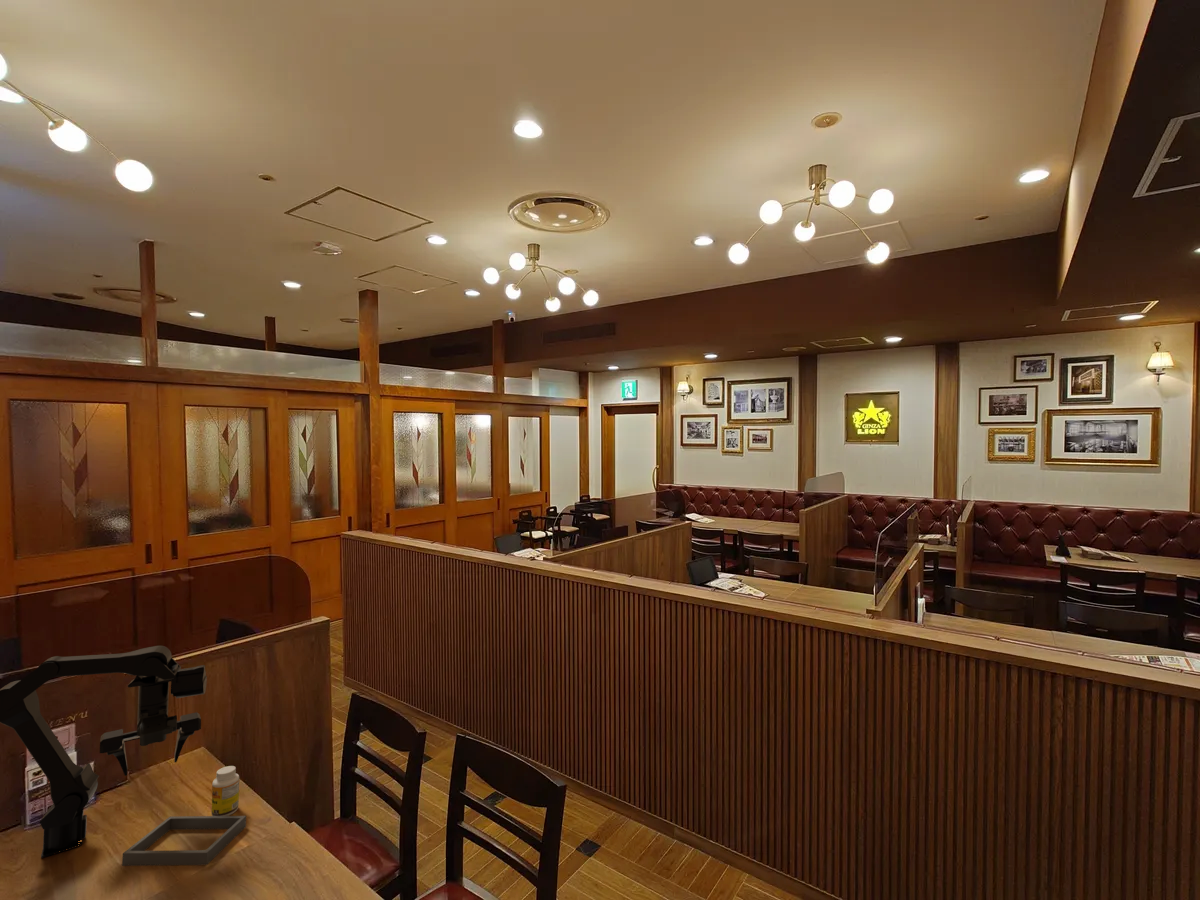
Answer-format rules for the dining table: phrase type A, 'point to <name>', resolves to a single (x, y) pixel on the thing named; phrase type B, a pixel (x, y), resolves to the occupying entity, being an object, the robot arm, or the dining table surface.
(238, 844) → the dining table surface
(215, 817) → the gray open frame
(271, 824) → the dining table surface
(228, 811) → the supplement bottle
